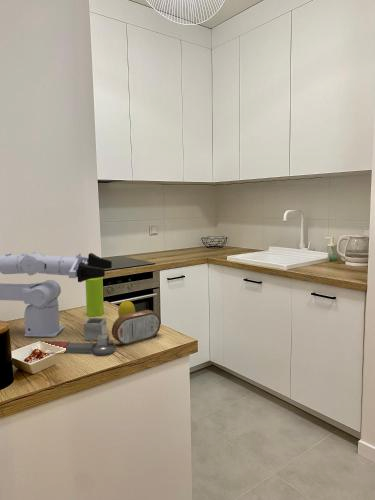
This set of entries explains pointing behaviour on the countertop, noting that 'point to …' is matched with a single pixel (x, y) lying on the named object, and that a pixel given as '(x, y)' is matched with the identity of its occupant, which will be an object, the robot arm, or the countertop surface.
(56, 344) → the ratchet
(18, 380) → the countertop surface
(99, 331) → the socket
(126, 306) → the lemon
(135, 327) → the tin
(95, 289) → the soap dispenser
